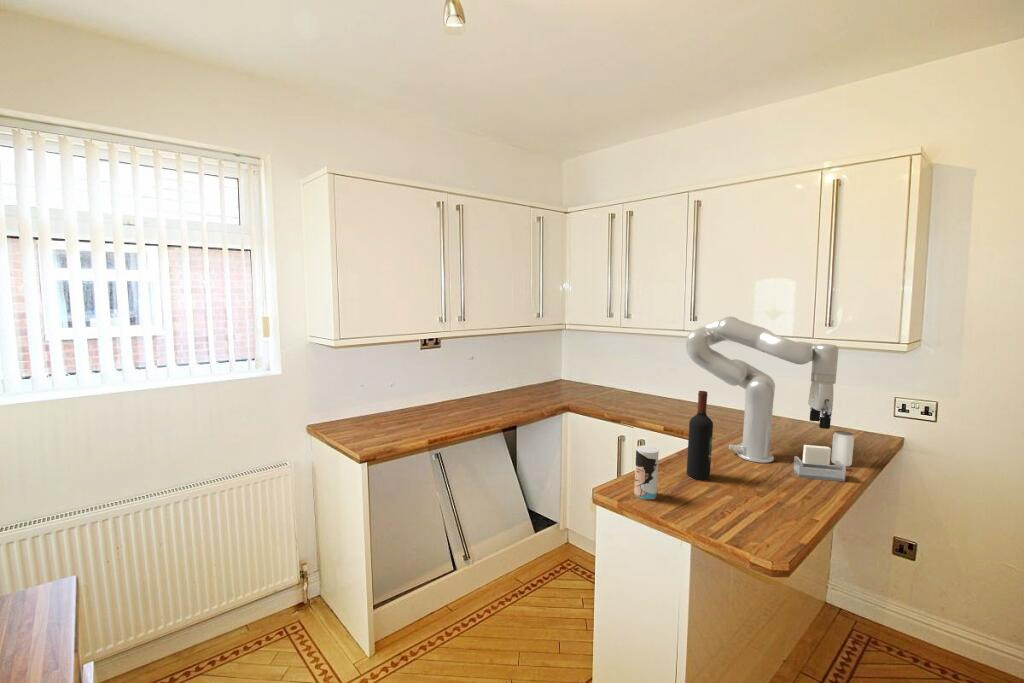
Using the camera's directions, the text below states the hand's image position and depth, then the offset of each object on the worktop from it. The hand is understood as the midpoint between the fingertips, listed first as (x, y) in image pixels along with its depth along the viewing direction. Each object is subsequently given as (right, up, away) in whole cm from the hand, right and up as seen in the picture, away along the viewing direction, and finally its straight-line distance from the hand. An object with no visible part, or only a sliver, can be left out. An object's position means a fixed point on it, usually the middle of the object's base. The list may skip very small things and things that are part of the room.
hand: (819, 424), depth 174 cm
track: (-5, -17, -6) cm, 19 cm away
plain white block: (0, -16, +2) cm, 16 cm away
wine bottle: (-47, -17, -8) cm, 51 cm away
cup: (-70, -18, -24) cm, 76 cm away
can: (+12, -16, +6) cm, 21 cm away
